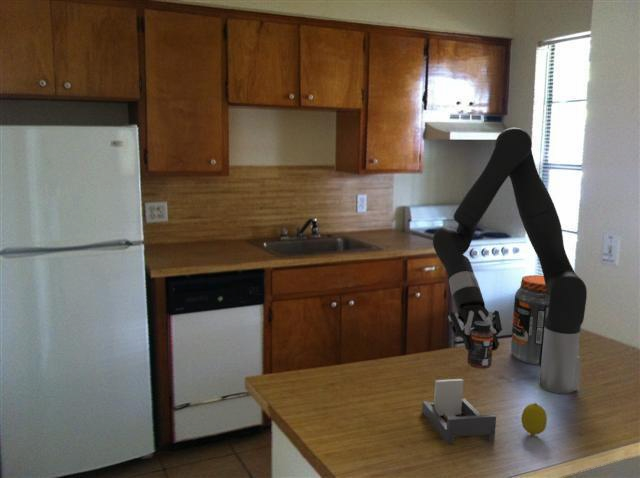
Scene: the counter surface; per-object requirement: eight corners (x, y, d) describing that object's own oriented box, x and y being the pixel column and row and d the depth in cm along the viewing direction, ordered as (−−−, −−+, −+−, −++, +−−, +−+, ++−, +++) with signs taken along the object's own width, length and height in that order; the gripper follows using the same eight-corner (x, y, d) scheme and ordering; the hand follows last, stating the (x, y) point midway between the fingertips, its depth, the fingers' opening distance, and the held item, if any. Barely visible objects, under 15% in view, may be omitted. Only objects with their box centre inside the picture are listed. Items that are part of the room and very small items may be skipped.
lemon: (544, 432, 137) (547, 400, 136) (545, 443, 132) (548, 410, 131) (520, 427, 139) (523, 396, 138) (520, 438, 134) (522, 406, 133)
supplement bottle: (492, 370, 145) (495, 327, 143) (467, 368, 146) (470, 325, 144) (490, 362, 151) (493, 320, 149) (466, 359, 152) (469, 318, 150)
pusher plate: (459, 412, 146) (461, 378, 144) (479, 433, 135) (482, 397, 134) (433, 414, 144) (435, 380, 143) (451, 436, 134) (454, 399, 132)
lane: (463, 409, 148) (465, 387, 147) (494, 440, 133) (496, 416, 132) (422, 412, 146) (423, 390, 145) (447, 444, 131) (449, 420, 130)
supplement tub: (506, 347, 195) (512, 272, 190) (554, 350, 193) (562, 275, 188) (515, 364, 179) (521, 283, 175) (568, 368, 177) (576, 286, 173)
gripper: (445, 285, 151) (462, 345, 141) (496, 284, 154) (516, 342, 144) (436, 300, 157) (452, 357, 147) (485, 298, 160) (503, 354, 150)
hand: (483, 349), depth 146 cm, fingers closed on supplement bottle, 6 cm apart
